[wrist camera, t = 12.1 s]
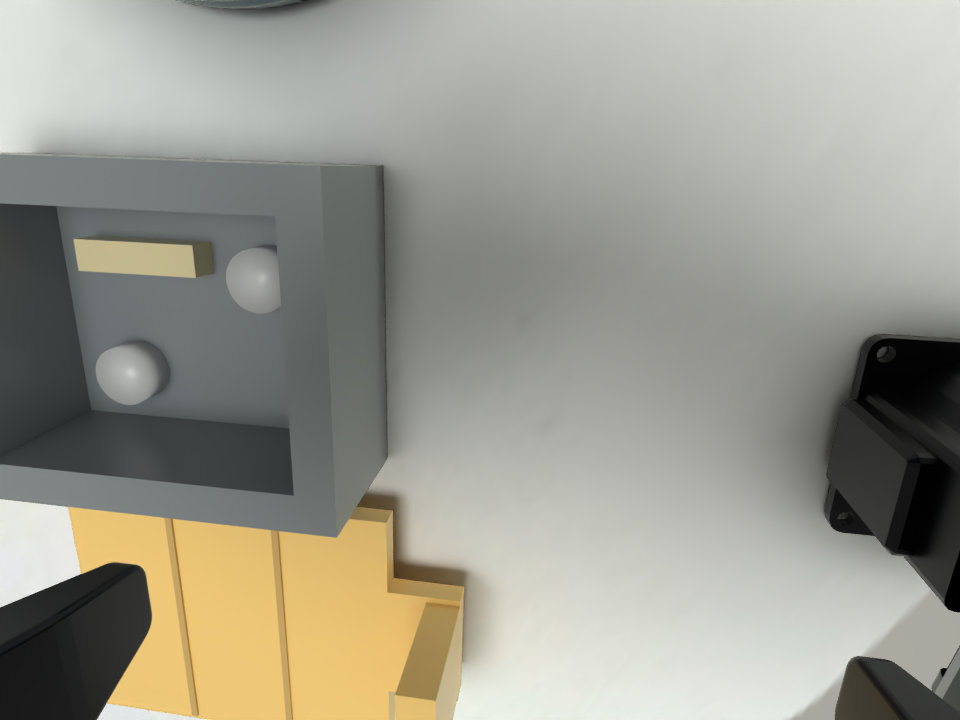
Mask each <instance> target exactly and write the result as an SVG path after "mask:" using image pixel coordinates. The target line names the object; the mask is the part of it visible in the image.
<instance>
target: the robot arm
mask: <svg viewBox="0 0 960 720" xmlns="http://www.w3.org/2000/svg"><path fill="white" fill-rule="evenodd" d="M885 346H889V352H888V354H887V355H886V356H885V357H884V358H880V359H877V352H878V350H879V349H881V348H882V347H885ZM826 475H827V477H828V479H829V480H830V481H831V485H830V489H829V493H828V498H827V502H826V506H825V511H824V514H825V518H826V520H827V521H828V523H829V524H830V525H831V527H832V528H833V529H835V530H836V531H839V532H842V533H852V534H862V535H871V536H876V538H877V539H878V540H879V541H880V543H881V544H882V545H883V546H884V547H885V549H886V550H887V551H888V552H889V553H890V554H892V555H899V556H904V558H905V559H906V560H907V561H908V562H909V563H910V565H911V566H912V567H913V568H914V569H915V571H916V572H917V573H918V574H919V575H920V577H921V578H922V579H923V580H924V581H925V582H926V584H927V585H928V586H929V587H930V588H931V590H932V591H933V592H934V593H935V594H936V596H938V598H939V599H940V600H941V601H942V603H943V604H944V605H945V606H946V607H947V608H948V610H951V611H954V612H960V339H948V338H932V337H917V336H901V335H886V334H882V335H876V336H874V337H871V338H870V339H869V340H867V341H866V342H865V344H864V346H863V348H862V351H861V355H860V359H859V364H858V368H857V372H856V377H855V381H854V385H853V390H852V394H851V398H850V399H849V400H848V401H846V402H845V403H844V404H843V405H842V407H841V412H840V416H839V420H838V425H837V429H836V434H835V438H834V442H833V447H832V451H831V455H830V460H829V464H828V469H827V474H826ZM843 512H849V514H848V516H847V517H846V518H844V519H837V518H838V516H839V514H841V513H843ZM151 622H152V610H151V603H150V597H149V590H148V584H147V577H146V573H145V571H144V569H143V568H142V567H141V566H139V565H135V564H127V563H119V562H111V563H107V564H105V565H102V566H100V567H97V568H95V569H93V570H90V571H88V572H85V573H83V574H80V575H78V576H76V577H73V578H71V579H68V580H66V581H64V582H61V583H59V584H56V585H54V586H51V587H49V588H47V589H44V590H42V591H39V592H37V593H34V594H32V595H30V596H27V597H25V598H22V599H20V600H18V601H15V602H13V603H10V604H8V605H5V606H3V607H1V608H0V720H97V718H98V717H99V715H100V713H101V712H102V710H103V708H104V707H105V705H106V703H107V702H108V700H109V698H110V697H111V695H112V693H113V692H114V690H115V688H116V687H117V685H118V683H119V681H120V680H121V678H122V676H123V675H124V673H125V671H126V670H127V668H128V666H129V665H130V663H131V661H132V660H133V658H134V656H135V655H136V653H137V651H138V650H139V648H140V646H141V644H142V643H143V641H144V639H145V638H146V636H147V634H148V632H149V629H150V626H151ZM835 720H960V646H959V648H958V650H957V652H956V653H955V655H954V657H953V659H952V661H951V662H950V664H949V666H948V668H942V669H941V670H940V671H939V673H938V675H937V677H936V679H935V681H934V682H933V684H932V691H931V690H929V689H928V688H927V687H926V686H924V685H923V684H922V683H921V682H919V681H918V680H917V679H915V678H914V677H913V676H911V675H910V674H909V673H907V672H906V671H905V670H903V669H902V668H901V667H899V666H898V665H897V664H895V663H894V662H892V661H889V660H885V659H878V658H870V657H862V656H856V657H853V658H851V660H850V661H849V662H848V665H847V667H846V671H845V674H844V678H843V682H842V686H841V689H840V693H839V697H838V701H837V704H836V709H835Z"/></svg>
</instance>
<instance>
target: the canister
mask: <svg viewBox="0 0 960 720" xmlns="http://www.w3.org/2000/svg"><path fill="white" fill-rule="evenodd" d="M177 1H180V2H185V3H189V4H193V5H199V6H206V7H213V8H250V9H255V8H271V7H278V6H285V5H289V4H293V3H297V2H301V1H304V0H177Z"/></svg>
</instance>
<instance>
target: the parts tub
mask: <svg viewBox="0 0 960 720" xmlns="http://www.w3.org/2000/svg"><path fill="white" fill-rule="evenodd" d="M386 460H387V397H386V328H385V260H384V191H383V166H377V165H349V164H321V163H293V162H265V161H237V160H209V159H182V158H154V157H126V156H98V155H70V154H42V153H1V152H0V499H5V500H14V501H22V502H31V503H40V504H48V505H57V506H66V507H74V508H83V509H92V510H100V511H109V512H118V513H126V514H135V515H144V516H152V517H161V518H170V519H178V520H187V521H196V522H204V523H213V524H222V525H230V526H239V527H248V528H256V529H265V530H273V531H282V532H291V533H299V534H308V535H317V536H325V537H334V538H337V537H338V535H339V534H340V532H341V531H342V529H343V527H344V526H345V524H346V523H347V521H348V520H349V518H350V516H351V515H352V513H353V512H354V510H355V509H356V507H357V505H358V504H359V502H360V501H361V499H362V497H363V496H364V494H365V493H366V491H367V490H368V488H369V486H370V485H371V483H372V482H373V480H374V479H375V477H376V475H377V474H378V472H379V471H380V469H381V468H382V466H383V464H384V463H385V461H386Z"/></svg>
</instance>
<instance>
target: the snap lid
mask: <svg viewBox="0 0 960 720" xmlns="http://www.w3.org/2000/svg"><path fill="white" fill-rule="evenodd" d="M68 509H69V514H70V519H71V524H72V529H73V535H74V540H75V545H76V550H77V555H78V560H79V565H80V571H81V574H83V573H85V572H88V571H90V570H93V569H95V568H97V567H100V566H102V565H105V564H107V563H111V562H119V563H127V564H135V565H139V566H141V567H142V568H143V569H144V571H145V573H146V577H147V584H148V590H149V597H150V603H151V610H152V622H151V626H150V629H149V632H148V634H147V636H146V638H145V639H144V641H143V643H142V644H141V646H140V648H139V650H138V651H137V653H136V655H135V656H134V658H133V660H132V661H131V663H130V665H129V666H128V668H127V670H126V671H125V673H124V675H123V676H122V678H121V680H120V681H119V683H118V685H117V687H116V688H115V690H114V692H113V693H112V695H111V697H110V698H109V700H108V702H107V703H108V704H114V705H121V706H127V707H133V708H139V709H146V710H152V711H158V712H165V713H171V714H177V715H183V716H190V717H196V718H202V719H209V720H453V716H454V711H455V706H456V702H457V701H458V696H459V692H460V687H461V673H462V640H463V607H464V587H462V586H454V585H446V584H438V583H429V582H421V581H413V580H405V579H397V578H394V576H393V510H384V509H375V508H366V507H356V509H355V510H354V512H353V513H352V515H351V516H350V518H349V520H348V521H347V523H346V524H345V526H344V527H343V529H342V531H341V532H340V534H339V535H338V537H337V538H334V537H325V536H317V535H308V534H299V533H291V532H282V531H273V530H265V529H256V528H248V527H239V526H230V525H222V524H213V523H204V522H196V521H187V520H178V519H170V518H161V517H152V516H144V515H135V514H126V513H118V512H109V511H100V510H92V509H83V508H74V507H68ZM395 692H396V694H395Z"/></svg>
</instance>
